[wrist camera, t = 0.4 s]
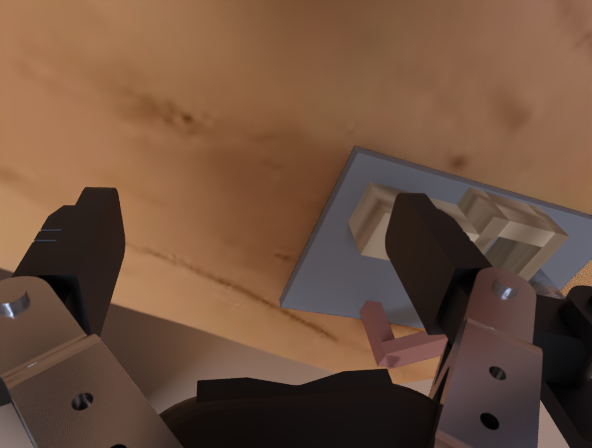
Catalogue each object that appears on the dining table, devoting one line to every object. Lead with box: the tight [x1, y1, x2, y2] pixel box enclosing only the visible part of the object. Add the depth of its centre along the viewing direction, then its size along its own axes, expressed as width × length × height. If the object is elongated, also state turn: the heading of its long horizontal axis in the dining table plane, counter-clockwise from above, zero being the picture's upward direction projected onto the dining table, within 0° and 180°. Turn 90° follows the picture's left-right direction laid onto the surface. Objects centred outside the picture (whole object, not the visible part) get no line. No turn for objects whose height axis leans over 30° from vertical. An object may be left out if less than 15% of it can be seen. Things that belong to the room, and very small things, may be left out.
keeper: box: [360, 300, 448, 369], centre depth 39 cm, size 2×6×7 cm, turn 104°
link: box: [348, 182, 569, 282], centre depth 34 cm, size 16×8×4 cm, turn 70°
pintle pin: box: [528, 268, 565, 300], centre depth 37 cm, size 2×2×8 cm
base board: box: [280, 146, 592, 328], centre depth 40 cm, size 17×28×1 cm, turn 70°
